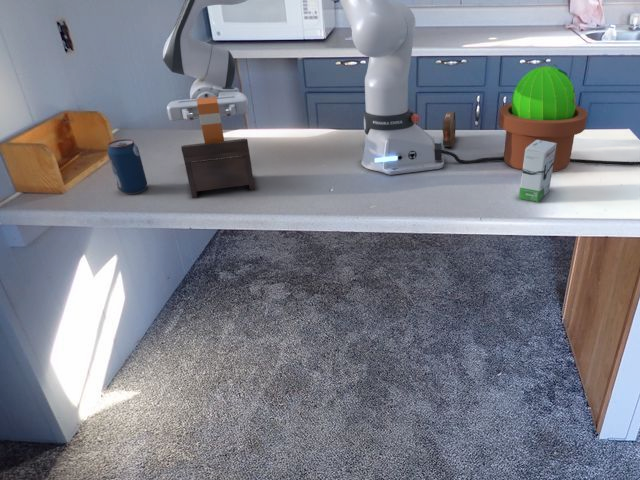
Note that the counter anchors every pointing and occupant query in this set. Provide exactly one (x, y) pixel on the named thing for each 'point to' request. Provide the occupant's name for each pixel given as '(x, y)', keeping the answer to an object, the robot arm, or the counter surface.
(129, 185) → the soda can
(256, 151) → the counter surface
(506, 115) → the potted cactus
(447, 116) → the tin
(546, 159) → the ink box
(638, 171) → the counter surface
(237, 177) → the brown wooden cabinet
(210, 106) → the packet
